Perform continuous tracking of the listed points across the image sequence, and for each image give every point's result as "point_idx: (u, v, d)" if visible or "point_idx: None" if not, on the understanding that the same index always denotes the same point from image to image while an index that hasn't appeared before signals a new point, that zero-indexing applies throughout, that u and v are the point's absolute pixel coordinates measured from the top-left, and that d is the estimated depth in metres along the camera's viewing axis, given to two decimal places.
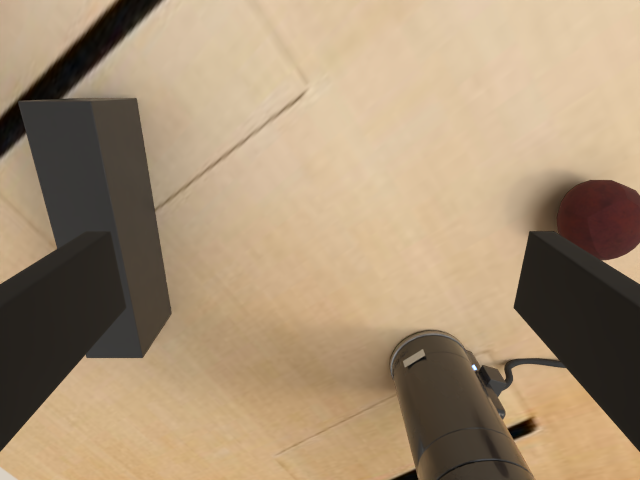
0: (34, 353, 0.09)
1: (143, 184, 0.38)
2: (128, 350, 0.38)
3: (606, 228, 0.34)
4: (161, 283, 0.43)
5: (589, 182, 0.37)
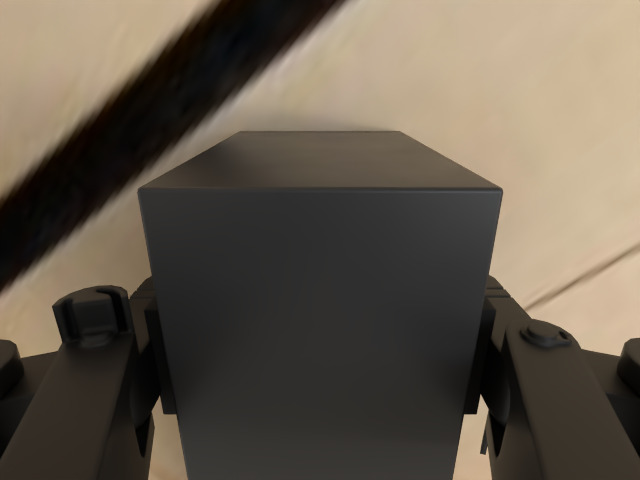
0: None
1: None
2: None
3: None
4: None
5: None
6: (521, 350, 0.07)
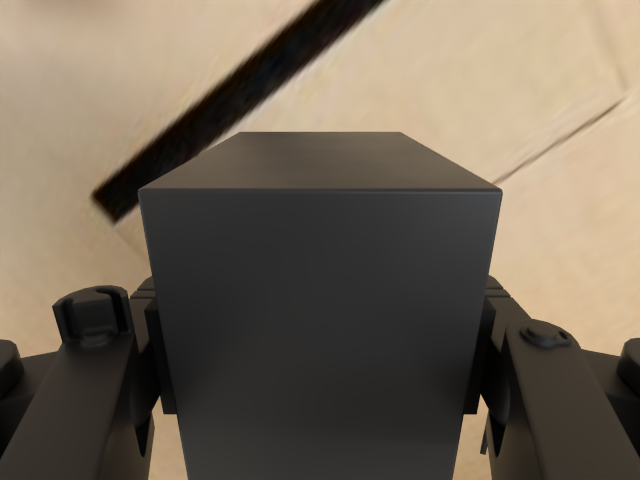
0: None
1: None
2: None
3: None
4: None
5: None
6: (522, 350, 0.07)
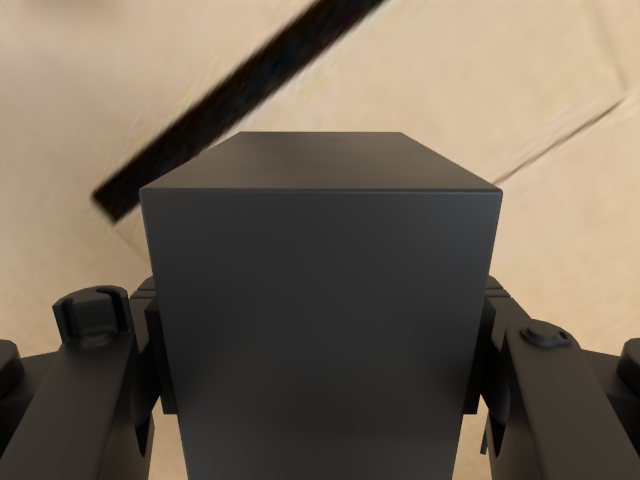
0: None
1: None
2: None
3: None
4: None
5: None
6: (522, 350, 0.07)
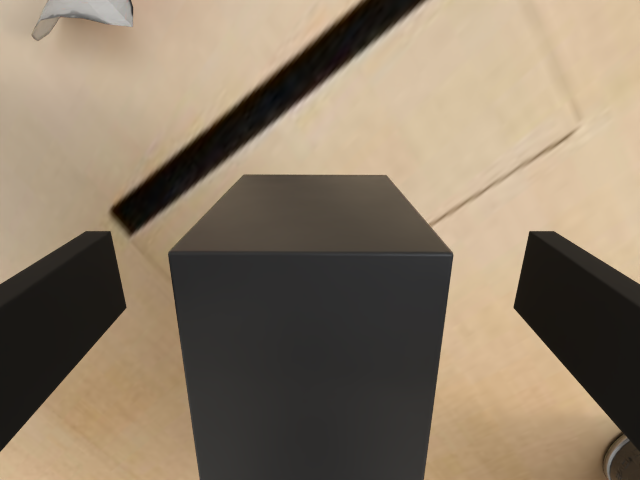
0: (34, 353, 0.09)
1: None
2: None
3: None
4: None
5: None
6: None
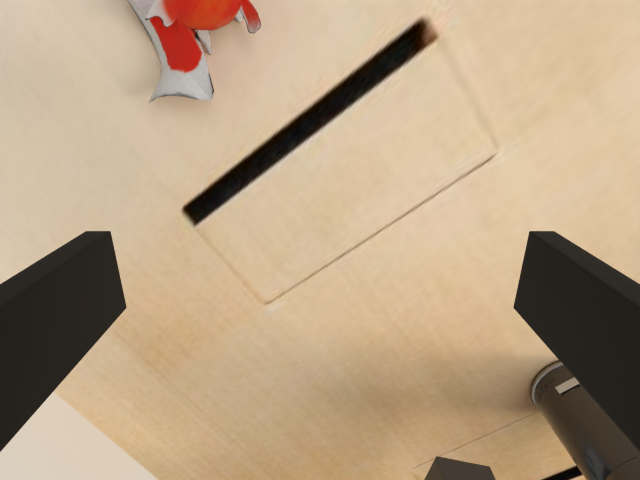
0: (33, 353, 0.09)
1: None
2: None
3: None
4: None
5: None
6: None
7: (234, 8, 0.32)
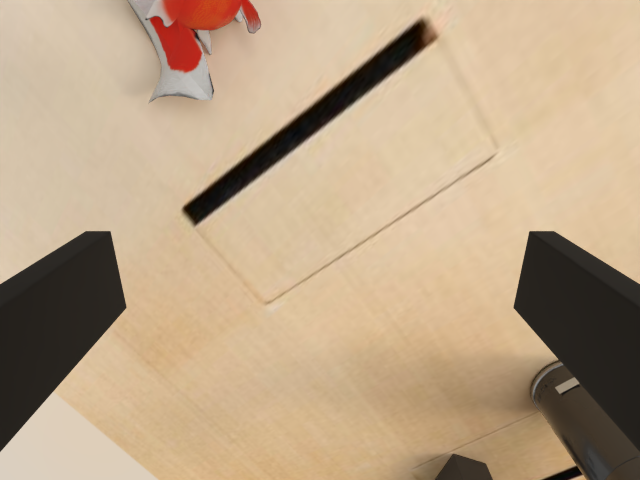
0: (33, 353, 0.09)
1: None
2: None
3: None
4: None
5: None
6: None
7: (234, 8, 0.32)
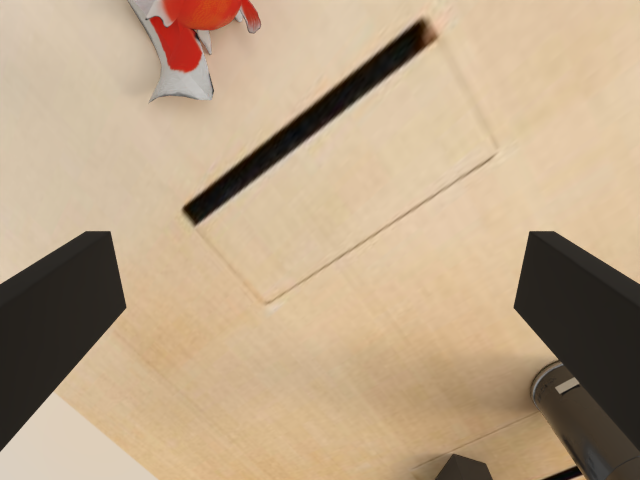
0: (33, 353, 0.09)
1: None
2: None
3: None
4: None
5: None
6: None
7: (234, 8, 0.32)
